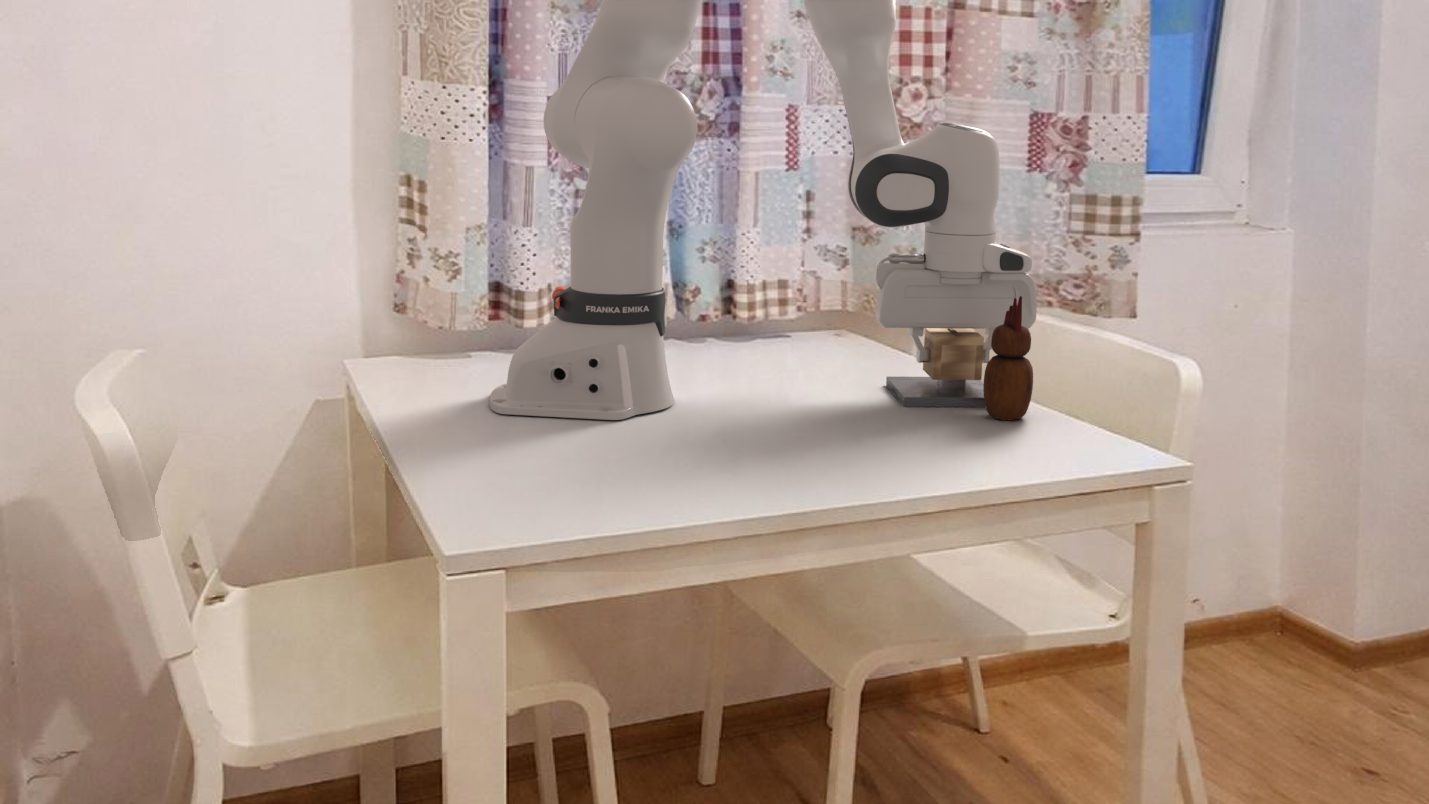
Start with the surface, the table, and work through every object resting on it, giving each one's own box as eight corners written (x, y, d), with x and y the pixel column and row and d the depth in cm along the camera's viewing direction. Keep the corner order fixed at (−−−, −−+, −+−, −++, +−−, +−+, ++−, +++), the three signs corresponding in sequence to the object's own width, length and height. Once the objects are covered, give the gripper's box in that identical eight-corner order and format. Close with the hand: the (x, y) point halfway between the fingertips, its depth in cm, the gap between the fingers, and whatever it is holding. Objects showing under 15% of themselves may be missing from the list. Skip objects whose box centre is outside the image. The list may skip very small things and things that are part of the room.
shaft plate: (903, 406, 163) (905, 365, 162) (886, 385, 175) (888, 346, 174) (998, 407, 164) (1001, 366, 163) (975, 386, 176) (977, 347, 174)
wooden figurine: (1031, 425, 155) (1040, 299, 152) (981, 422, 156) (989, 296, 153) (1029, 412, 162) (1038, 290, 158) (981, 409, 163) (989, 288, 159)
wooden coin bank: (932, 379, 167) (935, 335, 166) (922, 369, 173) (925, 326, 172) (981, 380, 167) (984, 335, 166) (969, 369, 173) (972, 326, 172)
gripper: (881, 257, 163) (876, 366, 166) (1044, 258, 164) (1036, 367, 167) (873, 250, 169) (868, 356, 172) (1030, 252, 170) (1022, 357, 173)
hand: (952, 362), depth 170 cm, fingers closed on wooden coin bank, 6 cm apart
